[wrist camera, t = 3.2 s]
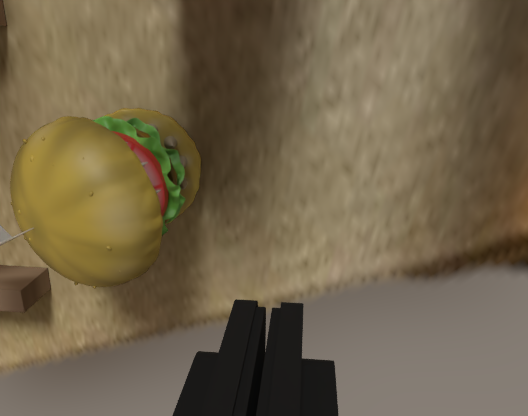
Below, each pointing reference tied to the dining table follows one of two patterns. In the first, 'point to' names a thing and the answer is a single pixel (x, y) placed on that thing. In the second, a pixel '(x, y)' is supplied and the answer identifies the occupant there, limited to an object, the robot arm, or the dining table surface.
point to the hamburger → (102, 192)
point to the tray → (20, 271)
